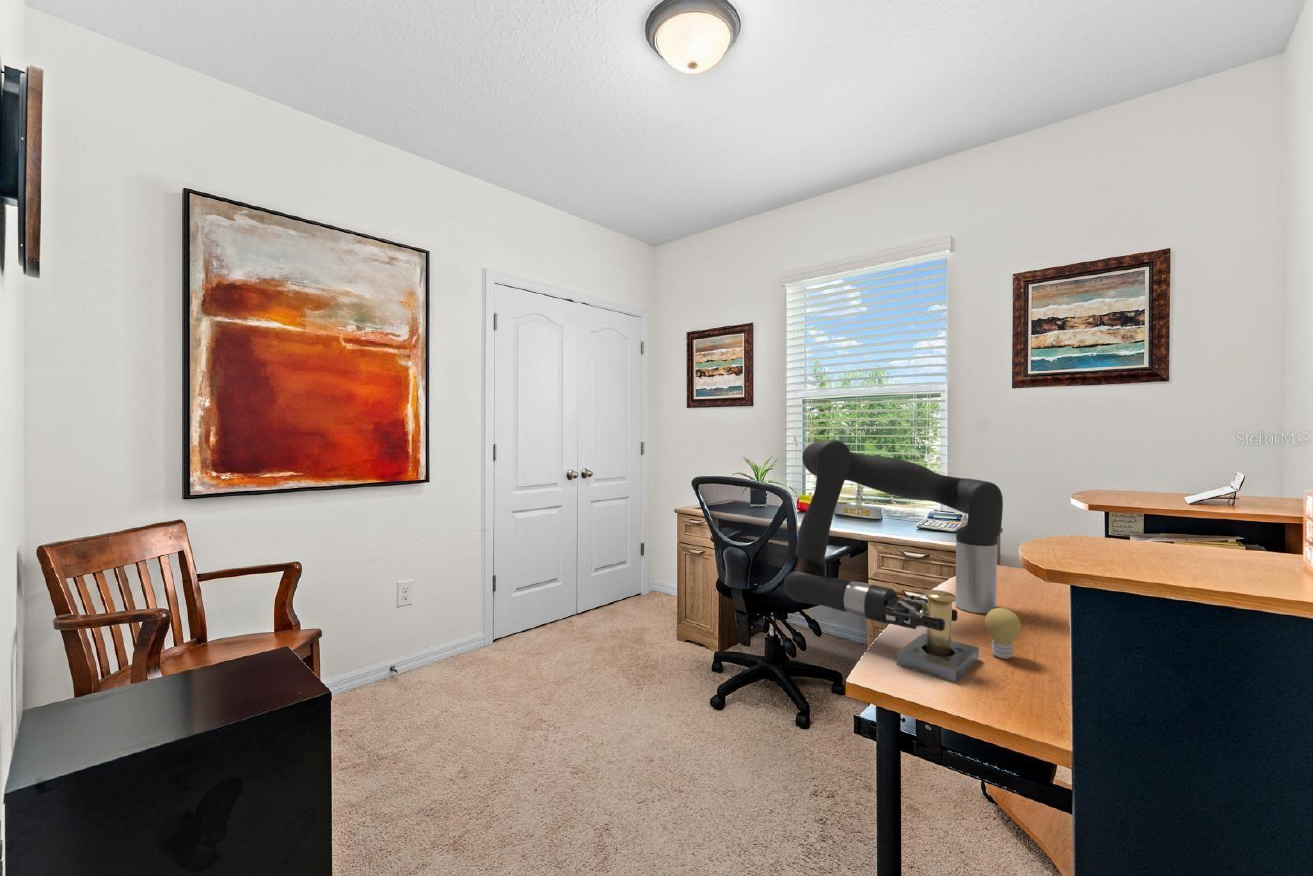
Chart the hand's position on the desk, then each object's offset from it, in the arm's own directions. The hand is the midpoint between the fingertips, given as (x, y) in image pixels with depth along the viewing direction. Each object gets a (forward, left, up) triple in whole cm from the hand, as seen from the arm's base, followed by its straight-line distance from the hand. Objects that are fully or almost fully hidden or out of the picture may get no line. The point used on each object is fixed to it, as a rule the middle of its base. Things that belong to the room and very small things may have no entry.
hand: (950, 620), depth 113 cm
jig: (0, -2, -9) cm, 9 cm away
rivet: (0, -2, -9) cm, 9 cm away
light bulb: (-12, +6, -9) cm, 16 cm away
